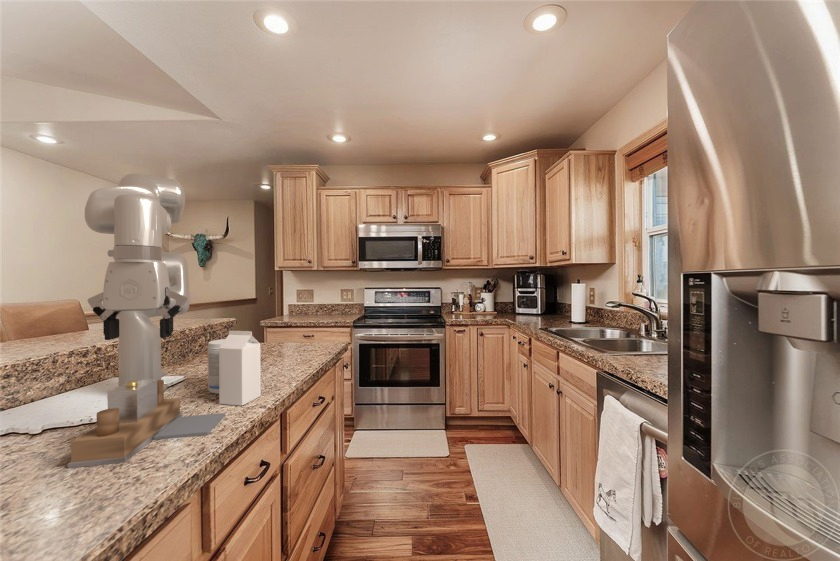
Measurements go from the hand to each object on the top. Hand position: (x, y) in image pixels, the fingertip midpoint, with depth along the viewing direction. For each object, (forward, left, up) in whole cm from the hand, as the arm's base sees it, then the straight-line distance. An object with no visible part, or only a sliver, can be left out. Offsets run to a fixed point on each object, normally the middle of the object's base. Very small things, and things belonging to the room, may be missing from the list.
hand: (139, 337), depth 68 cm
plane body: (0, -1, -21) cm, 21 cm away
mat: (-3, +8, -21) cm, 23 cm away
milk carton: (-18, +14, -21) cm, 31 cm away
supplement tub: (-29, +7, -21) cm, 37 cm away
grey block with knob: (0, -1, -16) cm, 16 cm away
